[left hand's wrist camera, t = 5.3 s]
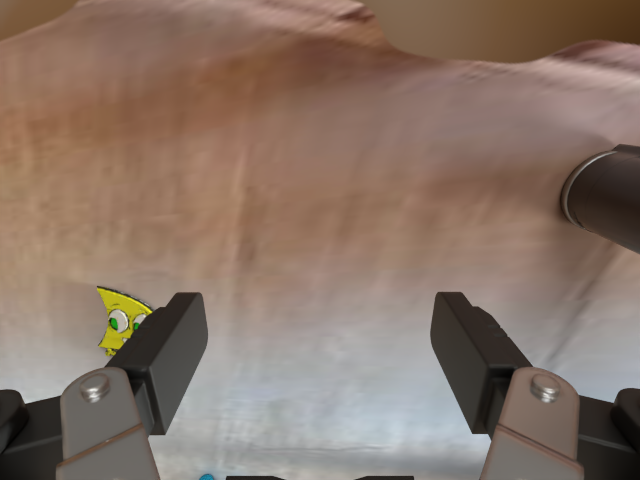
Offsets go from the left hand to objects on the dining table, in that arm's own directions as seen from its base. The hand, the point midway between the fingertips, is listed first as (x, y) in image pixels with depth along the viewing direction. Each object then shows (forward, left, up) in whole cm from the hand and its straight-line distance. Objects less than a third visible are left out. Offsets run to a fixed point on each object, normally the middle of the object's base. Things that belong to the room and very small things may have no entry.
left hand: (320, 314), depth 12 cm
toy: (+35, -6, -30) cm, 47 cm away
